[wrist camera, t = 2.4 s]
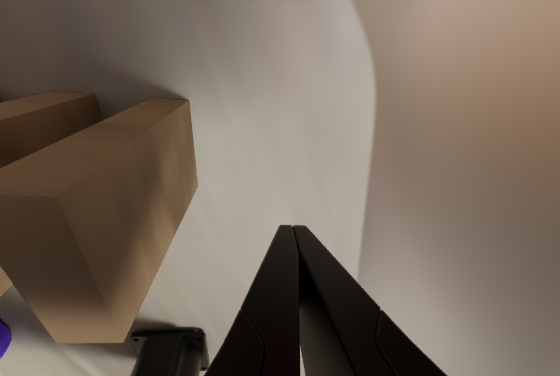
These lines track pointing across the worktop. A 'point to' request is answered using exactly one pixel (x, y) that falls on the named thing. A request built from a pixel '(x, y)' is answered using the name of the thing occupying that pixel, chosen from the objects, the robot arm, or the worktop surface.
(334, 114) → the worktop surface
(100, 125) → the domino
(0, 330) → the bottle
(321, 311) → the robot arm
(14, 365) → the worktop surface
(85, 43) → the worktop surface
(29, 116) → the domino
